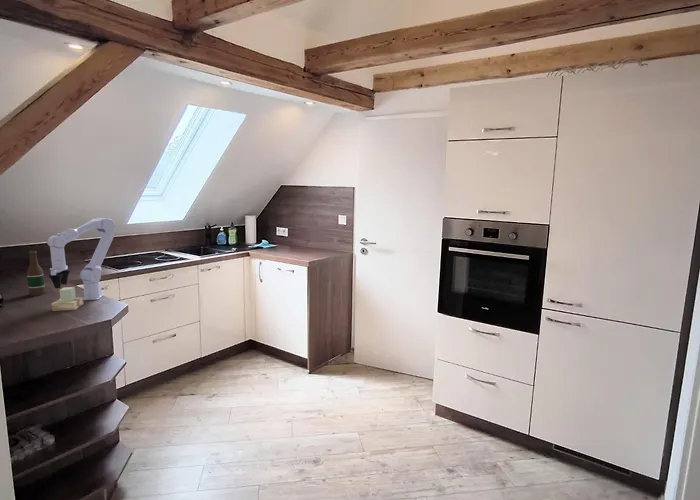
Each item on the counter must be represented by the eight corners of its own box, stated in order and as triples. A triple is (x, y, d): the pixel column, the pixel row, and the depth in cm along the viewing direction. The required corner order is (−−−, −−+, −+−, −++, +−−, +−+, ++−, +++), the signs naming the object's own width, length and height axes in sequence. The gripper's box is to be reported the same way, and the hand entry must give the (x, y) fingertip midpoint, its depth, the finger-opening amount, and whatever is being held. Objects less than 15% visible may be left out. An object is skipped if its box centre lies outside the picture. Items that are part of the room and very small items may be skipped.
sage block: (64, 299, 218) (63, 287, 217) (76, 298, 219) (74, 287, 218) (60, 301, 213) (59, 290, 212) (71, 301, 214) (70, 289, 213)
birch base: (62, 305, 221) (61, 297, 220) (83, 304, 222) (82, 297, 222) (52, 311, 211) (51, 303, 210) (74, 310, 213) (73, 302, 212)
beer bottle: (33, 292, 242) (28, 250, 238) (48, 292, 244) (44, 249, 240) (25, 296, 235) (20, 252, 231) (42, 295, 236) (37, 252, 232)
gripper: (55, 257, 222) (58, 283, 224) (42, 262, 208) (45, 290, 210) (71, 256, 224) (73, 282, 226) (59, 262, 210) (61, 289, 212)
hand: (61, 286), depth 218 cm, fingers open, 7 cm apart
